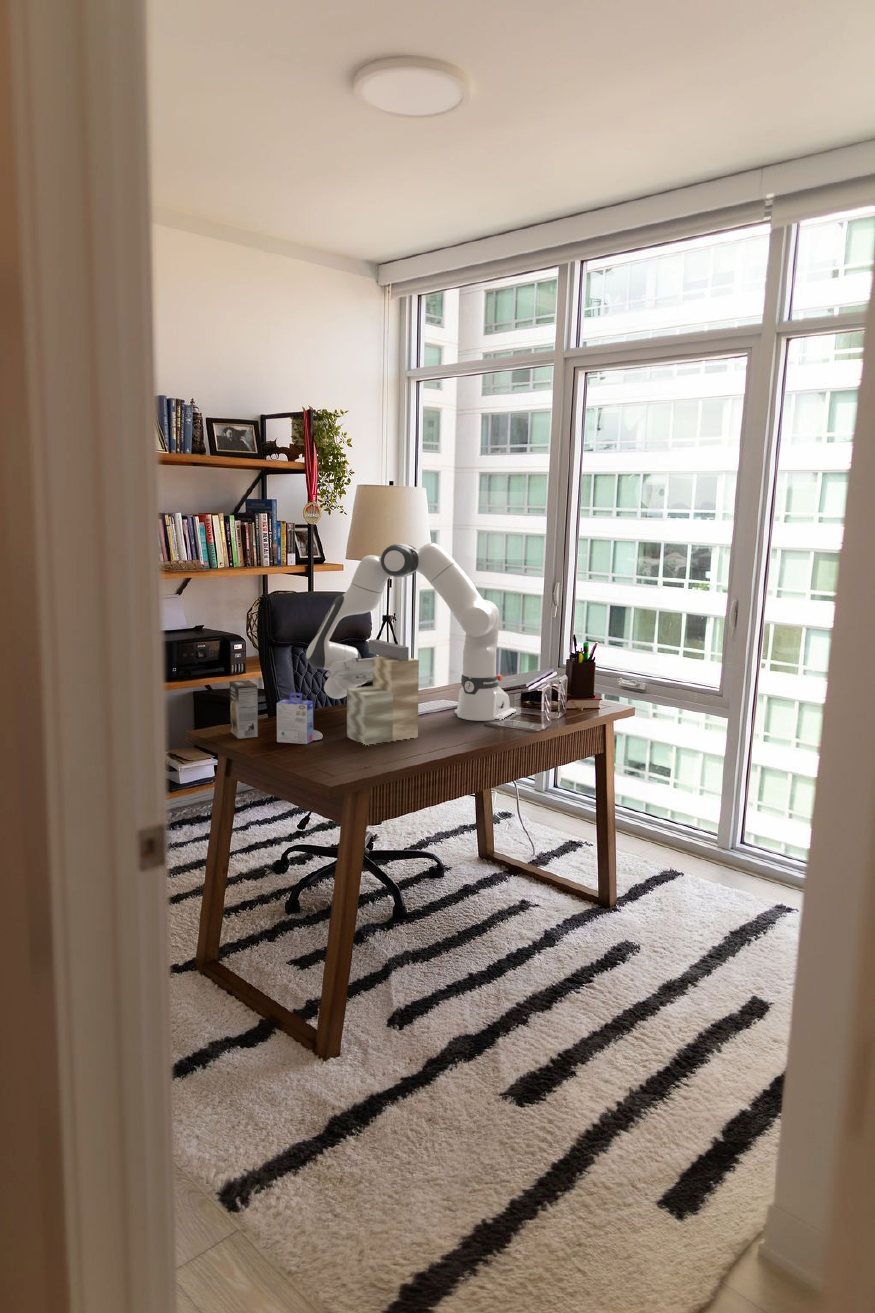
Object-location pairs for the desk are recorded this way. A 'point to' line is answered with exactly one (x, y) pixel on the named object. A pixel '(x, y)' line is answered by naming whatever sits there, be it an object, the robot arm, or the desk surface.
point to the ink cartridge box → (295, 720)
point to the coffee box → (244, 709)
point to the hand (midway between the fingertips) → (369, 658)
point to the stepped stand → (385, 703)
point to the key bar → (389, 650)
